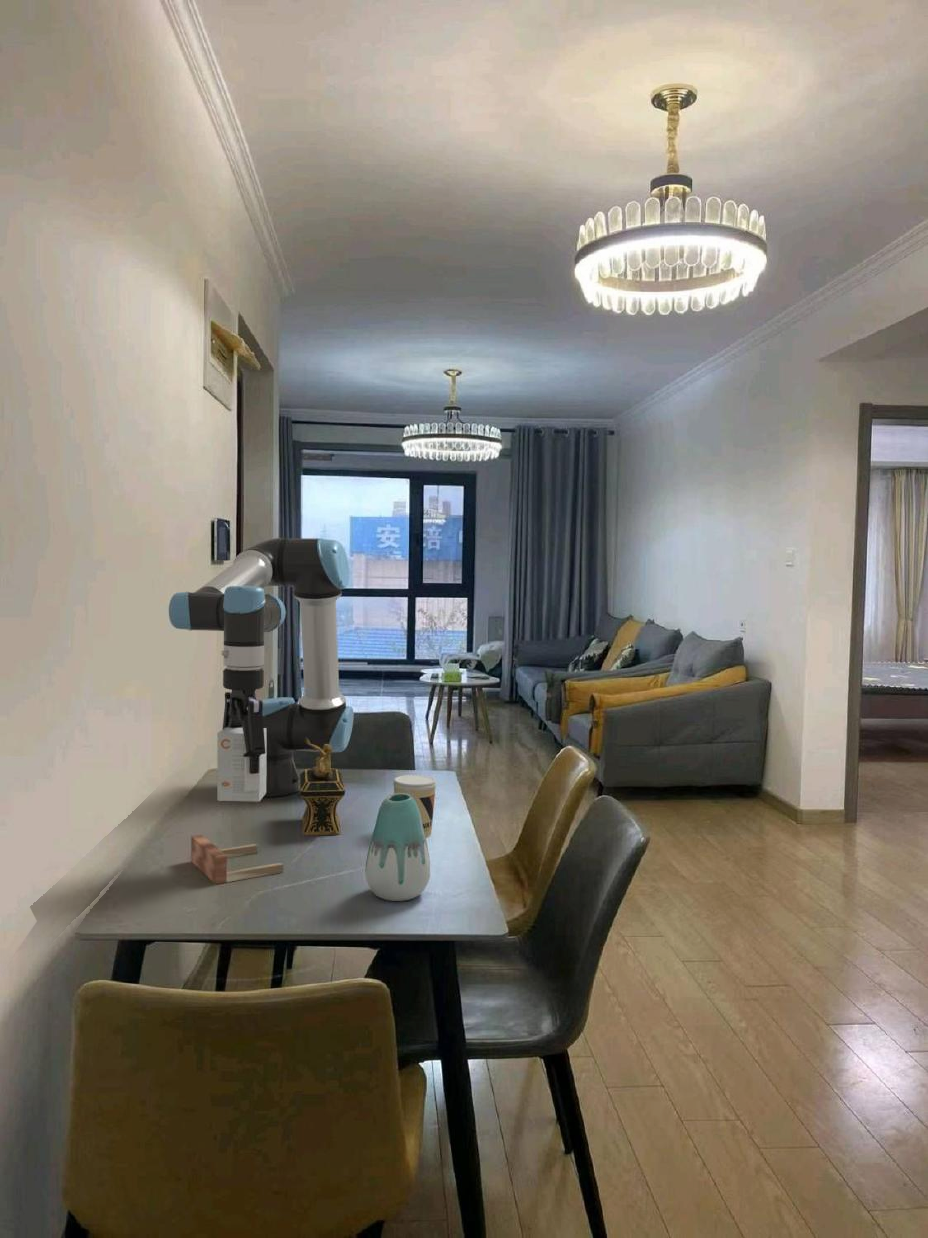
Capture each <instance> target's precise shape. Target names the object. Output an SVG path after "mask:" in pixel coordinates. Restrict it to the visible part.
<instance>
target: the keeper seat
mask: <svg viewBox="0 0 928 1238" xmlns="http://www.w3.org/2000/svg"><path fill="white" fill-rule="evenodd" d="M190 838H191V839H190V841H191V843H190V845H191V846H190V847H191V848H190V851H191V853H190V854H191V855H190V857H191V858H190V861H191V863H192V864H193V865H194V866H195V867H197V868H198V869H199V870H200V871H201V872H202V873H203V874H204V875H205V876H206V877H207V878H208V879H210V881H212V883H214V884H215V885H219V884H224V883H230V882H236V881H241V880H242V881H243V880H247V879H253V878H259V877H264V876H270V875H271V876H272V875H275V874H280V873H284V863H282V862H278V863H271V864H266V865H265V864H264V865H260V866H253V867H249V868H242V869H237V870H231V871H228V870H227V869H228V867H227V866H228V863H227V862H228V858H235V857H239V856H246V855H251V854H252V855H253V854H258V848H259V847H258V844H256V843H253V844H246V845H245V844H244V845H241V846H233V847H226V848H222V849H220V848H218V847H217V846H216V845H215V844H213V843H212V842H211V841H210V840H209V839H208V838H206V837H205V836H204V835H203V834H198V835H192V836H191V837H190Z"/></svg>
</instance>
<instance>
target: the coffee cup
mask: <svg viewBox="0 0 928 1238" xmlns="http://www.w3.org/2000/svg"><path fill="white" fill-rule="evenodd" d="M392 785H393V794H396V793H407V794H410V795H411V796H412V797H413V799H414V800H415V802H416V804H417V806H418V808H419V812H420V815H421V820H422V825H423V830H424V834H425V837H426V839H427V838H430V837H431V835H432V829H433V821H434V819H433V817H434V811H435V810H434V809H435V796H436V787H437V782H436V779H435V778H434V777H432V776H428V775H421V774H405V775H400V776H397V777H395V778H394V781H393V783H392Z"/></svg>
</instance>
